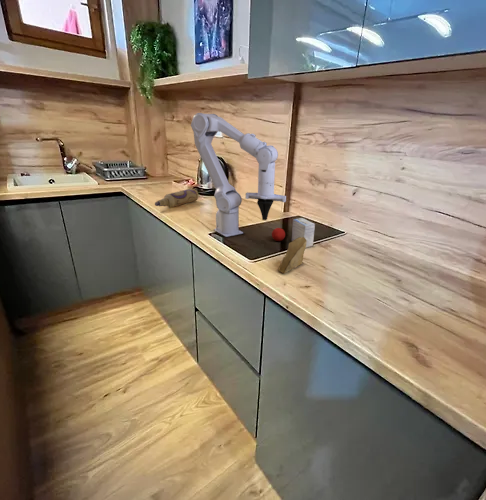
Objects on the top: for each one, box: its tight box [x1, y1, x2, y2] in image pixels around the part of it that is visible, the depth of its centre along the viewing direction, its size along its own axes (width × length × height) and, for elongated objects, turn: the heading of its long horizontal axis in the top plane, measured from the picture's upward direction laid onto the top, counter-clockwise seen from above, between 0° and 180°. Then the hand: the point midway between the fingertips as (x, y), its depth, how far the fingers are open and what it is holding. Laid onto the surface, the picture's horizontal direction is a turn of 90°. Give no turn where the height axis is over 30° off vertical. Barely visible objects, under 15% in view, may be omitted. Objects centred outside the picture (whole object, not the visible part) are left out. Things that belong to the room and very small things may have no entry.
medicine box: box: [291, 217, 316, 248], centre depth 111 cm, size 8×4×9 cm, turn 29°
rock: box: [277, 237, 307, 274], centre depth 93 cm, size 11×9×10 cm
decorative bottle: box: [154, 188, 199, 208], centre depth 152 cm, size 26×8×7 cm, turn 149°
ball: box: [271, 227, 286, 242], centre depth 113 cm, size 5×5×5 cm
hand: (264, 219), depth 112 cm, fingers closed
